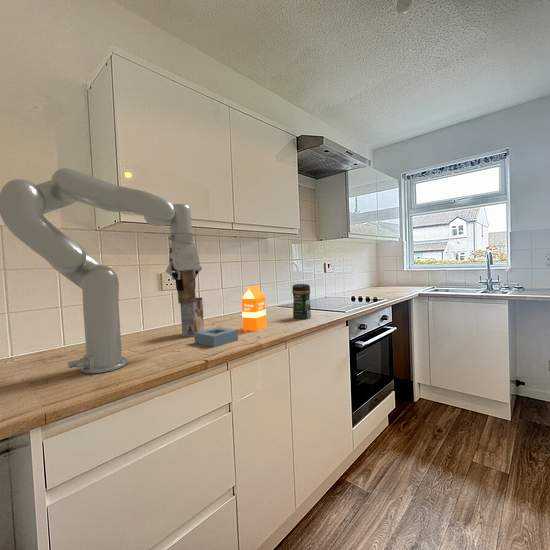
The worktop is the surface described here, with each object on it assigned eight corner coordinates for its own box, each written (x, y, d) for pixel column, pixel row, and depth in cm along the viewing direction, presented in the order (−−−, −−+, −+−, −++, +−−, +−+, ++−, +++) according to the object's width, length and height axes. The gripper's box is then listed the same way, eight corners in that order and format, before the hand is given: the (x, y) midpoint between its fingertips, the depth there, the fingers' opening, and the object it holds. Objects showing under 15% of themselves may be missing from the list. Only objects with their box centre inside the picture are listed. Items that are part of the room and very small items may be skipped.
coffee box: (191, 331, 139) (189, 297, 139) (204, 331, 138) (202, 297, 138) (181, 336, 130) (179, 299, 130) (195, 336, 129) (193, 299, 129)
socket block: (214, 347, 111) (213, 336, 111) (195, 342, 118) (194, 332, 118) (238, 340, 120) (237, 330, 120) (218, 336, 128) (218, 327, 127)
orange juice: (266, 327, 142) (264, 285, 142) (257, 331, 134) (255, 286, 134) (252, 326, 146) (250, 285, 145) (242, 330, 138) (240, 287, 137)
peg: (185, 303, 106) (182, 264, 105) (178, 303, 109) (175, 264, 108) (195, 302, 109) (192, 263, 108) (189, 301, 112) (185, 264, 111)
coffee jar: (290, 318, 164) (289, 284, 163) (300, 316, 169) (298, 283, 168) (304, 320, 157) (302, 284, 156) (313, 317, 162) (312, 283, 162)
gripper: (165, 238, 99) (170, 293, 100) (207, 238, 112) (211, 287, 113) (154, 240, 104) (159, 292, 105) (195, 240, 117) (199, 287, 117)
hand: (186, 289), depth 109 cm, fingers closed on peg, 4 cm apart
